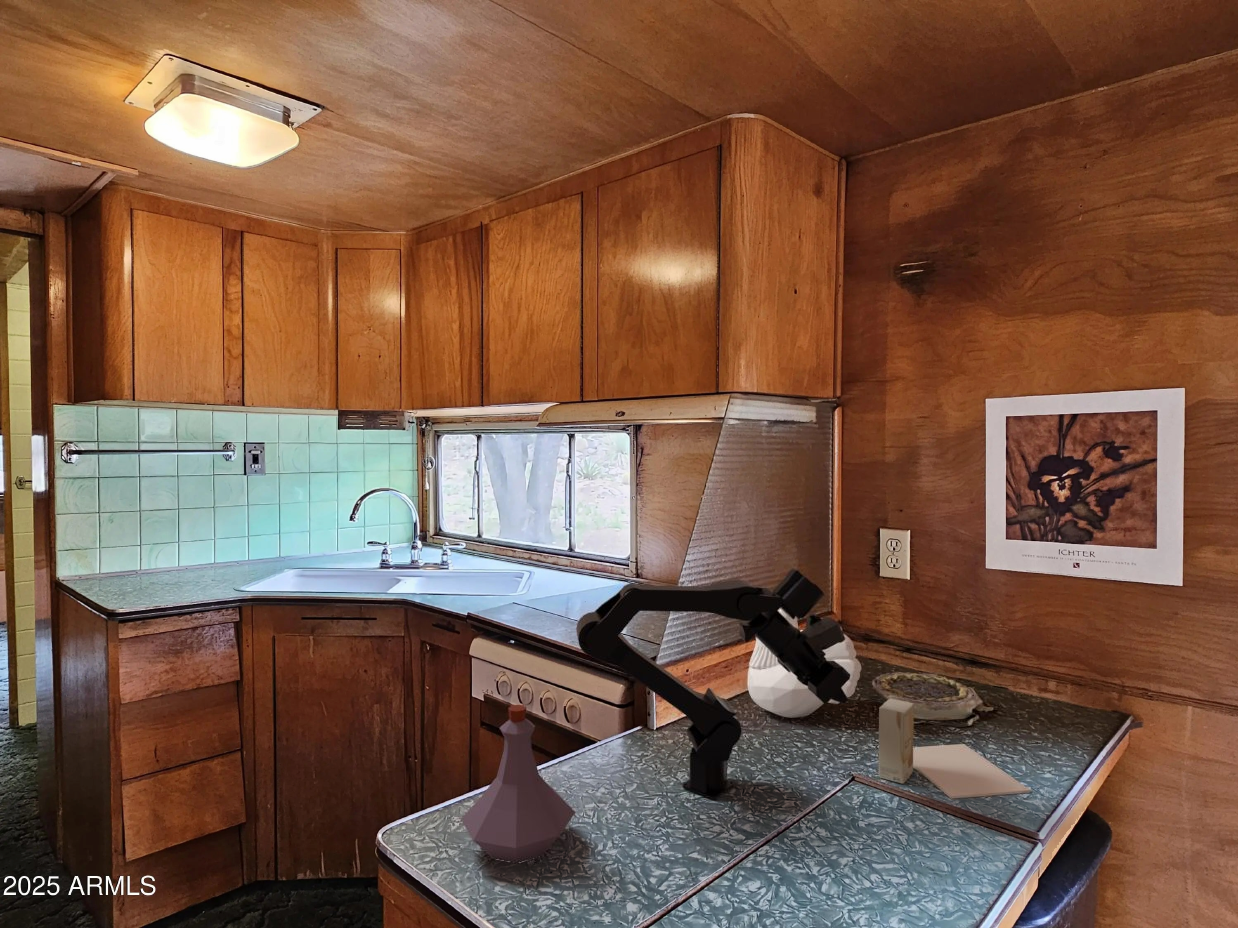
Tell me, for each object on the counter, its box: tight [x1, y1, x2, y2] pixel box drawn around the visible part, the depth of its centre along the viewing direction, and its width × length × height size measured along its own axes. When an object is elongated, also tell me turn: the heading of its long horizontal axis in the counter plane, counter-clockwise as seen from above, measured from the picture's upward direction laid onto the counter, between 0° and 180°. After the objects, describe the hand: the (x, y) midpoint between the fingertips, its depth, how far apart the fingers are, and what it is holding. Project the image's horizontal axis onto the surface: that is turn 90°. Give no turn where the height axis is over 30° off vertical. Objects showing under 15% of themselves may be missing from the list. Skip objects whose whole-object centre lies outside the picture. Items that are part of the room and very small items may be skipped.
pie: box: [871, 672, 995, 728], centre depth 158 cm, size 28×27×5 cm
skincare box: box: [878, 699, 915, 784], centre depth 124 cm, size 6×4×12 cm
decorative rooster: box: [747, 609, 862, 719], centre depth 150 cm, size 25×16×25 cm, turn 31°
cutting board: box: [913, 743, 1031, 800], centre depth 126 cm, size 14×18×1 cm
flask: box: [460, 704, 576, 864], centre depth 103 cm, size 16×16×20 cm
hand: (844, 699), depth 123 cm, fingers closed
